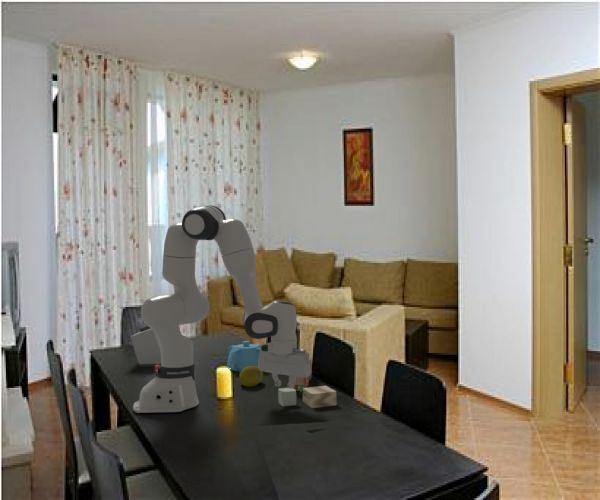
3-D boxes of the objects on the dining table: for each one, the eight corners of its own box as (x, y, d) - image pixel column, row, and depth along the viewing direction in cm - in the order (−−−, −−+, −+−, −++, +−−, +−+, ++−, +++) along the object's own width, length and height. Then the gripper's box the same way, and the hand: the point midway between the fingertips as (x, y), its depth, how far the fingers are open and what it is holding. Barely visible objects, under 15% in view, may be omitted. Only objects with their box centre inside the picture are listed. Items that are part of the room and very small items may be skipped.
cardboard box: (296, 379, 250) (296, 349, 250) (312, 379, 249) (311, 349, 249) (288, 392, 229) (287, 359, 229) (305, 393, 228) (304, 360, 228)
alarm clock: (167, 372, 267) (166, 326, 266) (131, 373, 267) (130, 326, 267) (177, 362, 287) (176, 319, 287) (144, 363, 288) (143, 320, 287)
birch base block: (312, 408, 207) (311, 394, 207) (302, 402, 216) (302, 388, 216) (336, 405, 211) (336, 391, 210) (326, 399, 219) (326, 385, 219)
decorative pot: (265, 368, 272) (264, 337, 272) (266, 376, 256) (266, 343, 256) (228, 369, 271) (227, 338, 270) (227, 377, 255) (226, 345, 254)
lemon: (244, 390, 232) (243, 369, 232) (234, 386, 239) (234, 366, 239) (268, 386, 238) (268, 366, 238) (258, 382, 245) (258, 362, 245)
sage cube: (282, 406, 210) (282, 392, 210) (278, 402, 215) (278, 388, 215) (296, 405, 212) (296, 390, 212) (292, 401, 217) (291, 387, 216)
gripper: (314, 348, 208) (314, 389, 208) (266, 342, 219) (266, 381, 220) (303, 352, 203) (304, 393, 203) (255, 345, 214) (255, 384, 215)
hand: (284, 387), depth 212 cm, fingers open, 4 cm apart
